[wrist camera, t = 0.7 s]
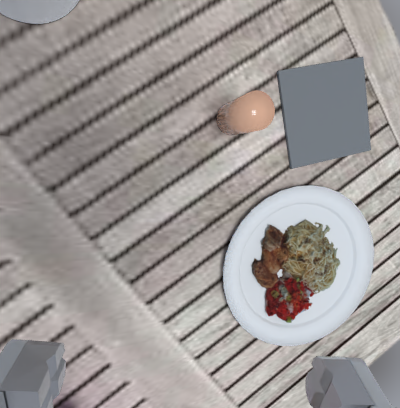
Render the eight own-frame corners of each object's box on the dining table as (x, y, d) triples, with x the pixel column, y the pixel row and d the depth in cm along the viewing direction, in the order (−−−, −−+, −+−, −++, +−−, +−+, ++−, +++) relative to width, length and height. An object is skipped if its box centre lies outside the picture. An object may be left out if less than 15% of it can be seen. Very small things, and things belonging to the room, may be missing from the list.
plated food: (364, 172, 57) (378, 173, 54) (368, 318, 63) (381, 327, 60) (209, 199, 51) (215, 202, 48) (230, 358, 57) (236, 370, 53)
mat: (276, 71, 50) (278, 70, 49) (360, 57, 53) (363, 56, 52) (290, 168, 53) (291, 168, 53) (368, 150, 56) (370, 149, 56)
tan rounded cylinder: (213, 106, 48) (235, 93, 39) (243, 100, 49) (271, 87, 40) (219, 137, 50) (242, 133, 40) (248, 132, 50) (277, 126, 41)
